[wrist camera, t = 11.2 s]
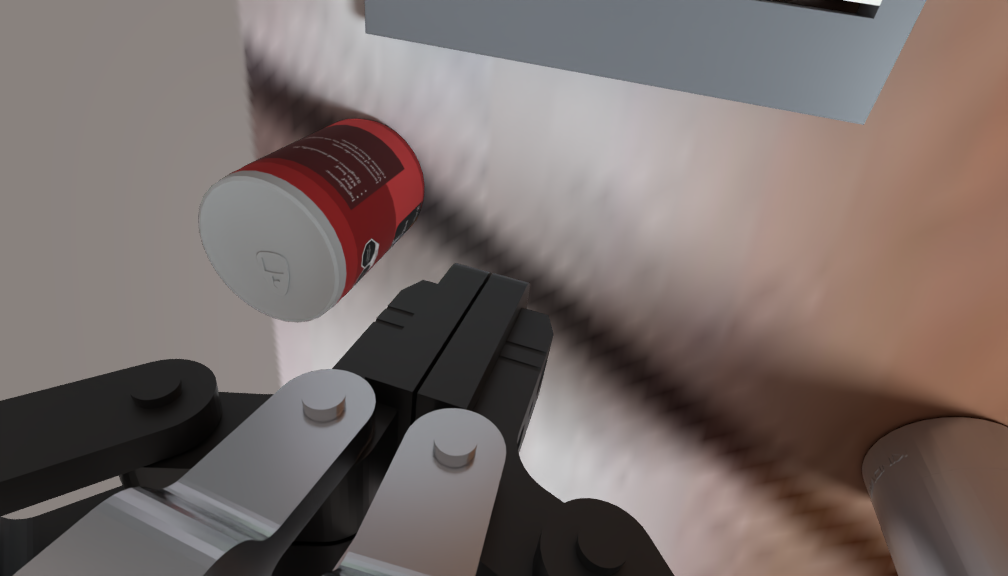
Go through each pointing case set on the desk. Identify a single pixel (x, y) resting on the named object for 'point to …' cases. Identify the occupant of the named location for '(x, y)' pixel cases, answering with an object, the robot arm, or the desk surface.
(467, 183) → the desk surface
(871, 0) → the white square block
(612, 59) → the keypad board
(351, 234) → the canned food
